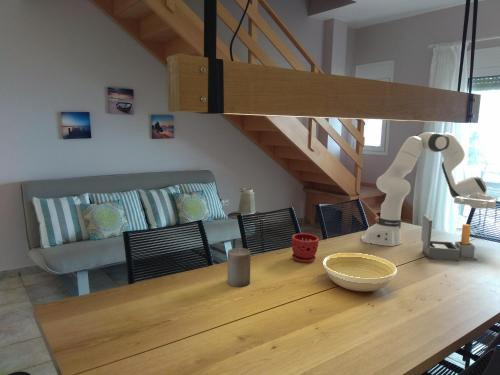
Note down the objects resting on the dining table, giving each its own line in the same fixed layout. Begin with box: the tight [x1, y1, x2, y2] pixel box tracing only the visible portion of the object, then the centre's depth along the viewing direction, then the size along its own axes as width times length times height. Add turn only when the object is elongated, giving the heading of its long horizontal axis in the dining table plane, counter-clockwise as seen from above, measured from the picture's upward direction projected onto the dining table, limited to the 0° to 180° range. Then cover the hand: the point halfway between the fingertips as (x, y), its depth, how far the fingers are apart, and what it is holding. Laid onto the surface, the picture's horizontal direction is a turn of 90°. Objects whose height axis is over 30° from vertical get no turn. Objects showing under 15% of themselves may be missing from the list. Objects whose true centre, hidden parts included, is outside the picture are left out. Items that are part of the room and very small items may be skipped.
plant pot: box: [291, 233, 320, 264], centre depth 190 cm, size 13×13×12 cm
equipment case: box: [420, 214, 460, 262], centre depth 200 cm, size 15×14×20 cm
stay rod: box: [460, 223, 472, 245], centre depth 200 cm, size 4×4×16 cm
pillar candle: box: [226, 247, 251, 288], centre depth 160 cm, size 10×10×15 cm
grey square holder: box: [454, 241, 478, 261], centre depth 200 cm, size 10×10×7 cm
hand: (472, 203), depth 210 cm, fingers open, 8 cm apart
